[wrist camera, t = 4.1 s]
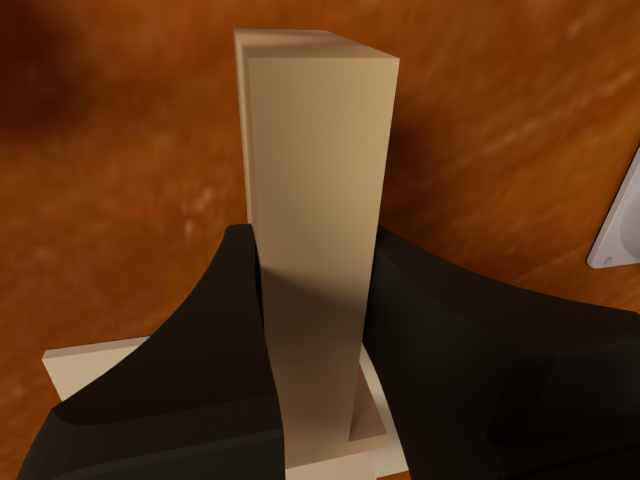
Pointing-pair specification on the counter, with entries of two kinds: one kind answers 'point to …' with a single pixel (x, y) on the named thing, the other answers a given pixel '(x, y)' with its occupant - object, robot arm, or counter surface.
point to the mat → (95, 359)
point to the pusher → (315, 223)
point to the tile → (335, 469)
